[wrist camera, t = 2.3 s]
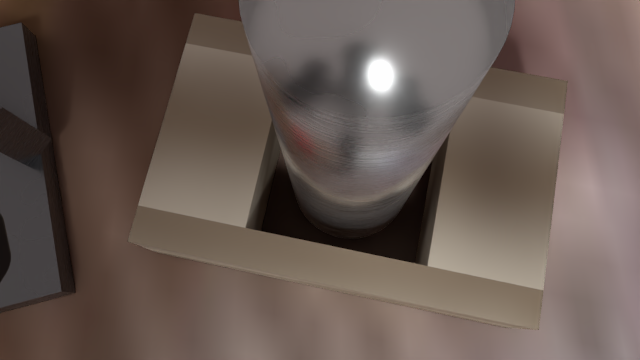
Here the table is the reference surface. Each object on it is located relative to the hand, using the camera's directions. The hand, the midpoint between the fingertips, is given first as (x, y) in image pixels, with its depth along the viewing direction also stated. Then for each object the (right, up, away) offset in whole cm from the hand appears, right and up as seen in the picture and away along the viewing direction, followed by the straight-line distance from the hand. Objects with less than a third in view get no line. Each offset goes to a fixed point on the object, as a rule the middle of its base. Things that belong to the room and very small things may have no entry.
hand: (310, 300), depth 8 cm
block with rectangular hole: (+1, +2, +12) cm, 12 cm away
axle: (+1, +2, +12) cm, 12 cm away
